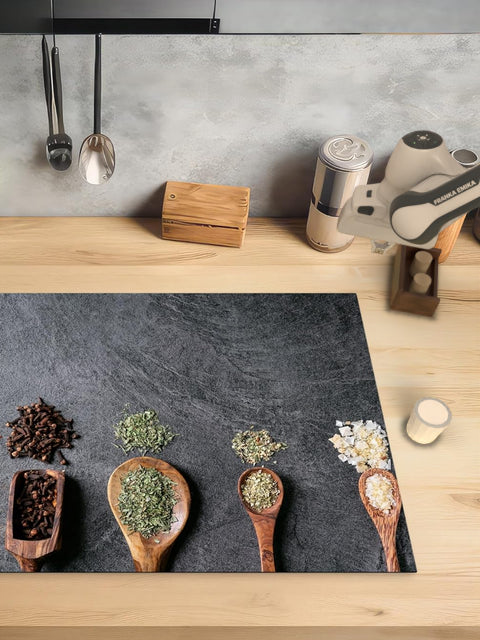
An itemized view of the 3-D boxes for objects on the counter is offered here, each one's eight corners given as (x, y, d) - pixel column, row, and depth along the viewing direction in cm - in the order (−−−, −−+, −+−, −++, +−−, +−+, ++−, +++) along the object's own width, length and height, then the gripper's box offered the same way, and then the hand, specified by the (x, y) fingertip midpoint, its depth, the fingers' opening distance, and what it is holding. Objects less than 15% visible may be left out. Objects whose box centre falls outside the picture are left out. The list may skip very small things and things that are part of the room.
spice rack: (434, 265, 168) (443, 244, 162) (431, 317, 159) (442, 297, 153) (393, 257, 169) (402, 237, 164) (389, 309, 160) (398, 288, 155)
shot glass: (442, 447, 140) (455, 428, 134) (406, 445, 140) (417, 427, 135) (435, 416, 144) (448, 397, 138) (400, 415, 144) (411, 395, 139)
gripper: (450, 202, 148) (427, 250, 159) (347, 184, 151) (332, 233, 162) (450, 223, 144) (426, 271, 155) (345, 204, 147) (329, 253, 158)
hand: (377, 251), depth 159 cm, fingers closed
